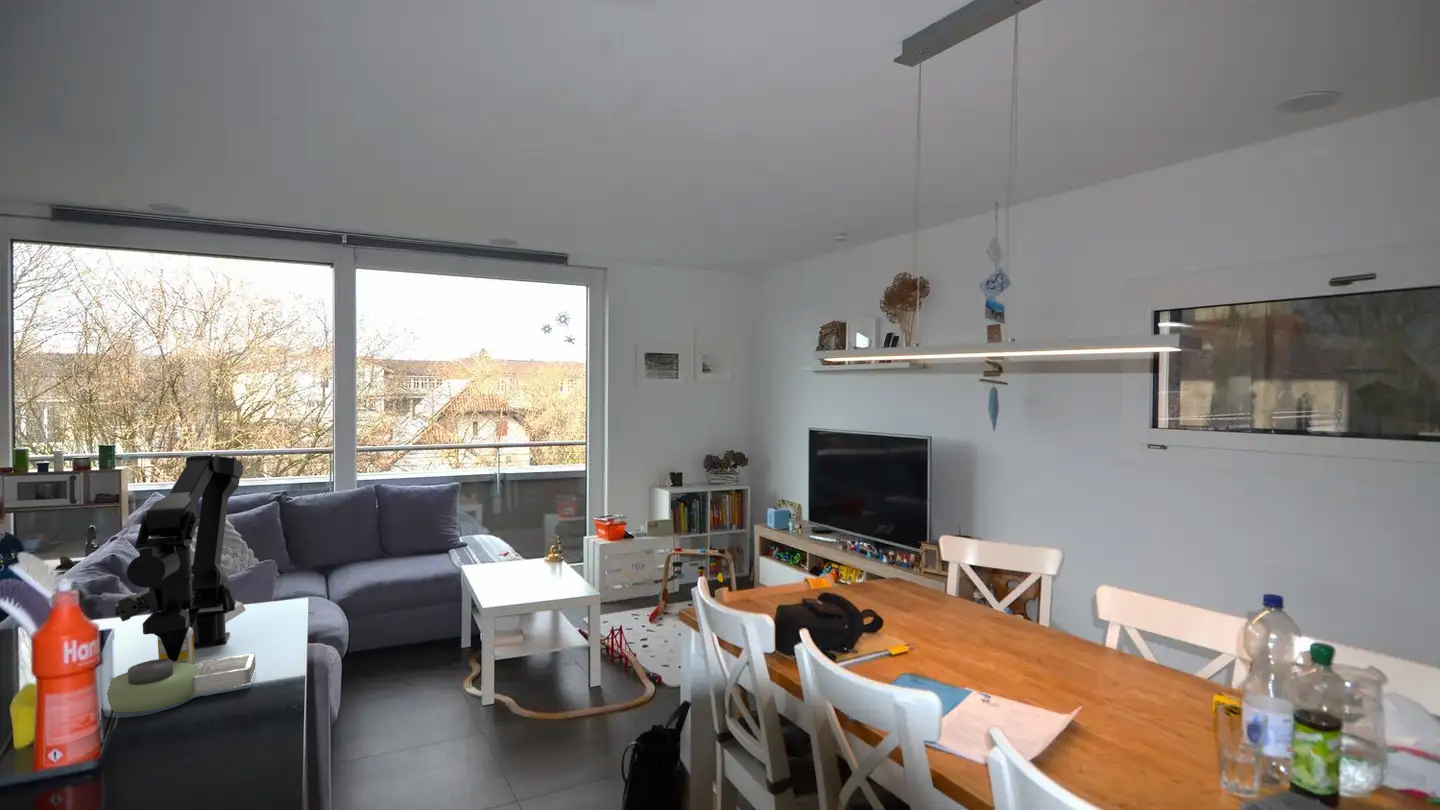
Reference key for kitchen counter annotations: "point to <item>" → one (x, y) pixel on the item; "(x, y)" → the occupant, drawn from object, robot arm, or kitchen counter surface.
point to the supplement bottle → (186, 651)
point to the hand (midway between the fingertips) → (176, 656)
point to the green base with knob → (151, 686)
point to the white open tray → (223, 673)
